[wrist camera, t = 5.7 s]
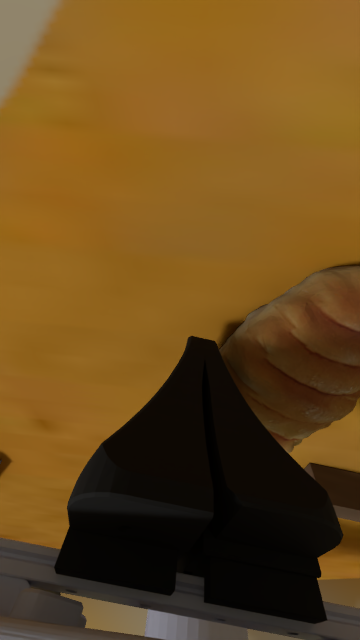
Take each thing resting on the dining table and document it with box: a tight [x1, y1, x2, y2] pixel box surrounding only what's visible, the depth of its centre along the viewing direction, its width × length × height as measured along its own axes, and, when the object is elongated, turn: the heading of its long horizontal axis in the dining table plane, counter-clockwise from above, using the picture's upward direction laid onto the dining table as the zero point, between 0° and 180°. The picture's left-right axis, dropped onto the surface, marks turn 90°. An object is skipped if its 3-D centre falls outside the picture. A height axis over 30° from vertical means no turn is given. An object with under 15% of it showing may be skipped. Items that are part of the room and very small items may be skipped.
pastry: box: [219, 266, 360, 453], centre depth 11 cm, size 9×7×4 cm
